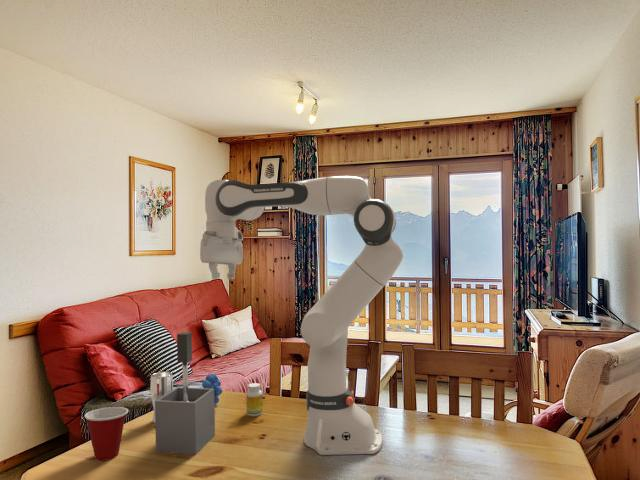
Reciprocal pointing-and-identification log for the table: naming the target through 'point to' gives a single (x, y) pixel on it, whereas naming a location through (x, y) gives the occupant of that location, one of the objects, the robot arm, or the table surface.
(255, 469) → the table surface
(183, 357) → the plunger
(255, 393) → the supplement bottle
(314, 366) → the robot arm
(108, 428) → the plastic cup
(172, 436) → the box
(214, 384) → the grapes
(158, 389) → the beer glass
